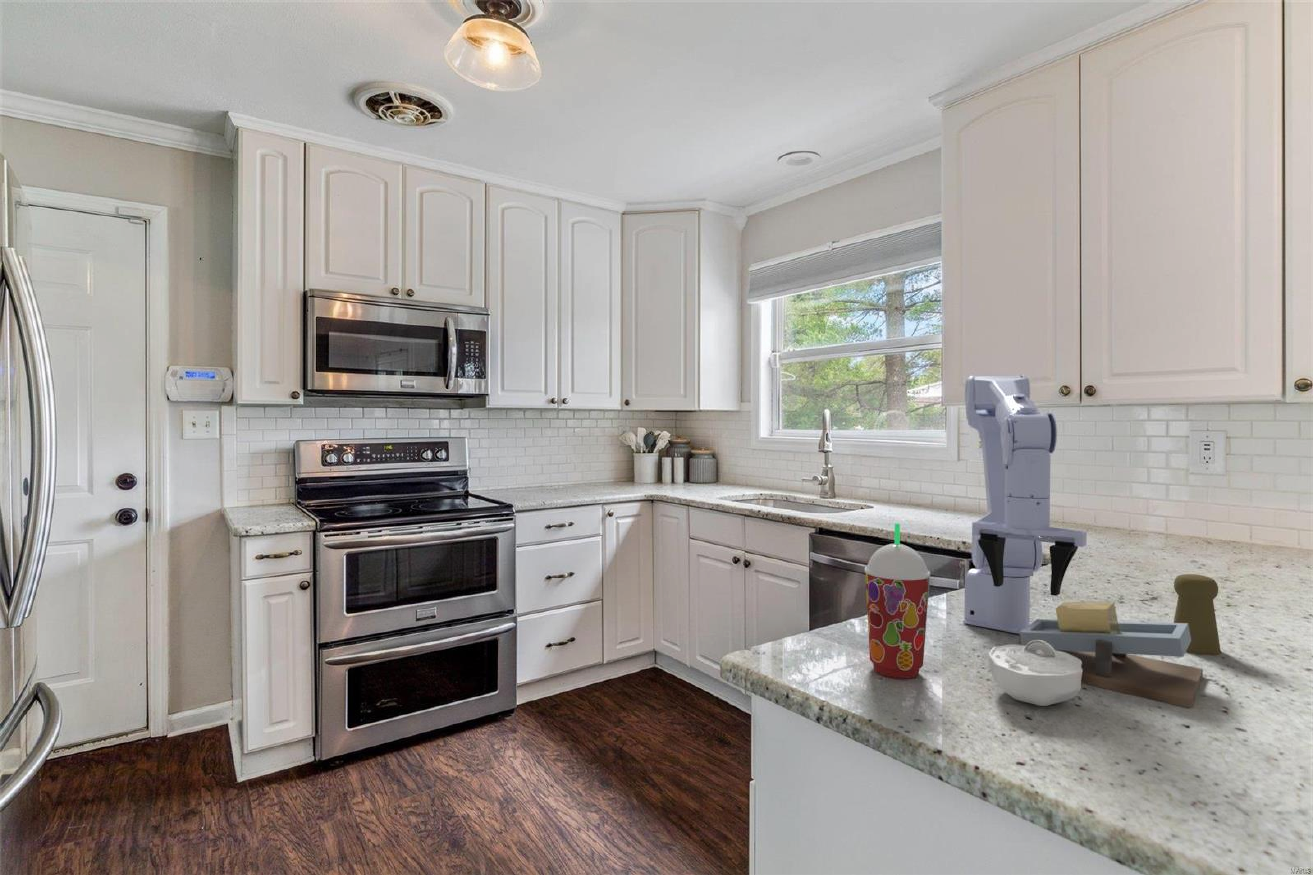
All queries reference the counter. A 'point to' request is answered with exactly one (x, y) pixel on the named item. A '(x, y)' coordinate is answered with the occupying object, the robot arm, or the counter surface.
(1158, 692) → the stand
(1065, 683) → the cell model
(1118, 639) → the beam
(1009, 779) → the counter surface
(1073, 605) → the block
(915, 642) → the smoothie
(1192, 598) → the cork
